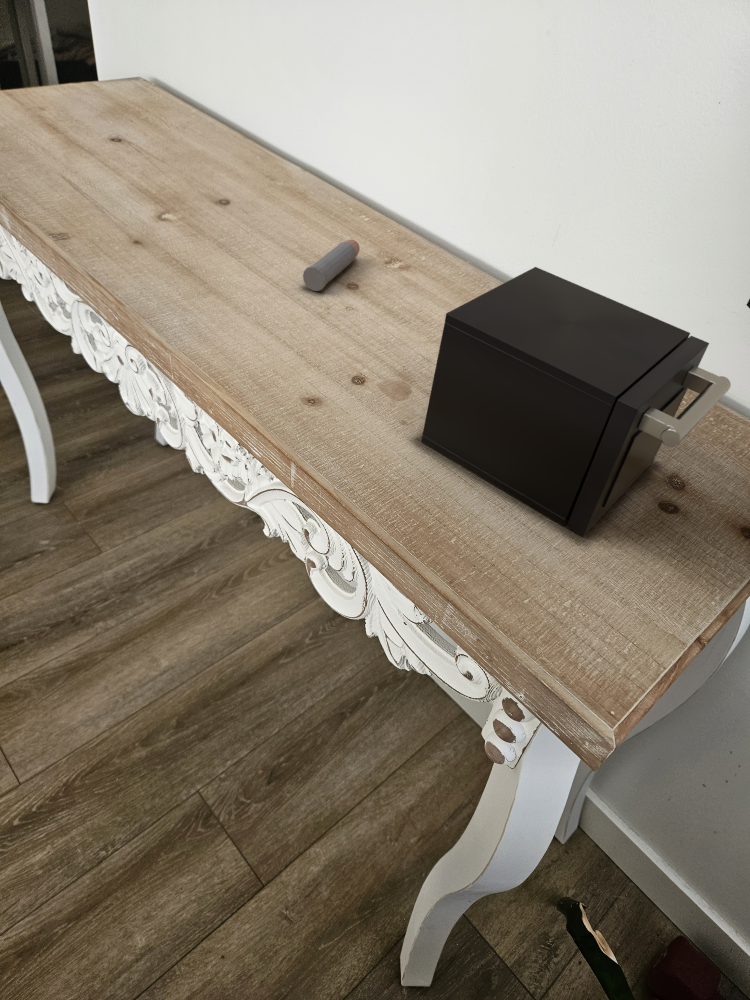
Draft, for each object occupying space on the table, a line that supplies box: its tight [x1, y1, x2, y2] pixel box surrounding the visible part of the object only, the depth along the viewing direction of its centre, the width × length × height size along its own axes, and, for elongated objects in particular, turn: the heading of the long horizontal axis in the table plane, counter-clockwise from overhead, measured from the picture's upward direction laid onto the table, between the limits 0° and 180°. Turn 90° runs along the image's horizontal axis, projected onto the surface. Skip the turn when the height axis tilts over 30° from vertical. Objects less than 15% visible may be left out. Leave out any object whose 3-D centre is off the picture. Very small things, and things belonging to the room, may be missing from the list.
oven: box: [420, 266, 691, 527], centre depth 61 cm, size 15×14×13 cm
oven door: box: [566, 335, 732, 537], centre depth 57 cm, size 5×14×13 cm, turn 140°
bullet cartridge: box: [302, 239, 360, 292], centre depth 86 cm, size 11×3×3 cm, turn 157°
